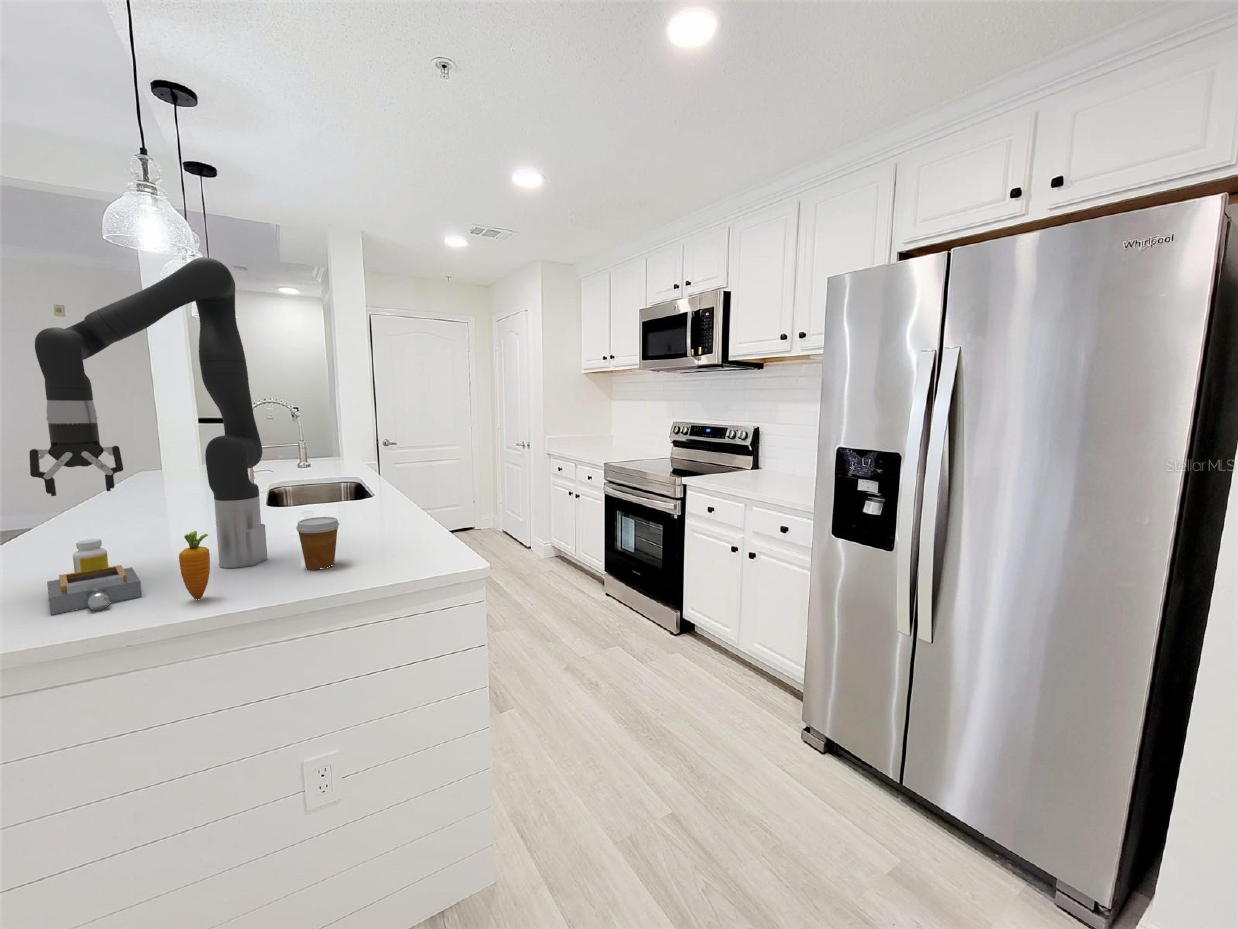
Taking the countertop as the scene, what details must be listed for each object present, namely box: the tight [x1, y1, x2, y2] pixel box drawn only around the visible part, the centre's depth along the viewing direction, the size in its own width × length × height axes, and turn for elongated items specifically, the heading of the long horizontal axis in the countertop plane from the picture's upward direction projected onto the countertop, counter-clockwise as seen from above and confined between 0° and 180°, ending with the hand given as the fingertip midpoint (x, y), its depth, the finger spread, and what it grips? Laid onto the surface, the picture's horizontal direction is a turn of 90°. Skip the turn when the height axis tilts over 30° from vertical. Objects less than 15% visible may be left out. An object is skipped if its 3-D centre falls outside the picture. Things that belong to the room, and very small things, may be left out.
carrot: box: [178, 530, 211, 601], centre depth 106 cm, size 5×5×15 cm
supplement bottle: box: [72, 538, 109, 573], centre depth 115 cm, size 5×5×10 cm
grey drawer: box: [46, 564, 143, 616], centre depth 106 cm, size 13×17×5 cm
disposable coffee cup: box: [295, 516, 340, 571], centre depth 129 cm, size 10×10×12 cm
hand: (81, 493), depth 115 cm, fingers open, 8 cm apart
